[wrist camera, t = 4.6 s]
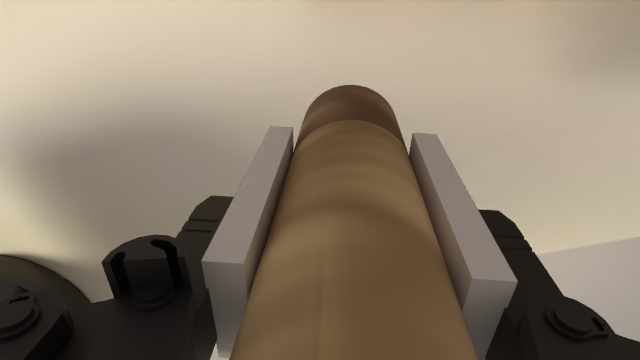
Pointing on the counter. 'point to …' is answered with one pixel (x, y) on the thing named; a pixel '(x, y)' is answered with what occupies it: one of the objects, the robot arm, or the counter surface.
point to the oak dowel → (352, 249)
